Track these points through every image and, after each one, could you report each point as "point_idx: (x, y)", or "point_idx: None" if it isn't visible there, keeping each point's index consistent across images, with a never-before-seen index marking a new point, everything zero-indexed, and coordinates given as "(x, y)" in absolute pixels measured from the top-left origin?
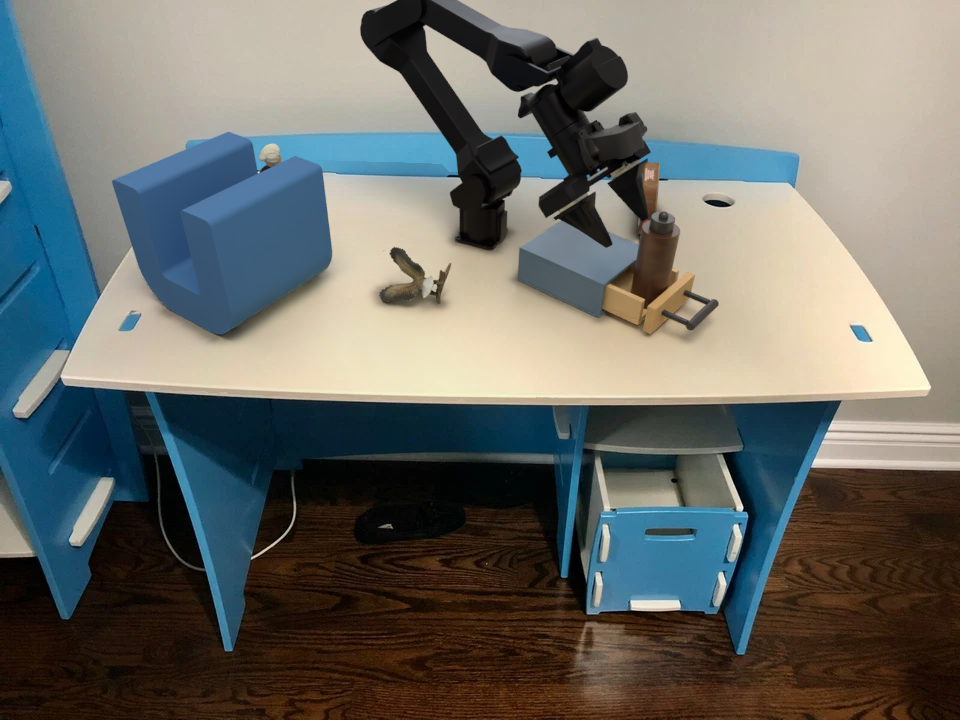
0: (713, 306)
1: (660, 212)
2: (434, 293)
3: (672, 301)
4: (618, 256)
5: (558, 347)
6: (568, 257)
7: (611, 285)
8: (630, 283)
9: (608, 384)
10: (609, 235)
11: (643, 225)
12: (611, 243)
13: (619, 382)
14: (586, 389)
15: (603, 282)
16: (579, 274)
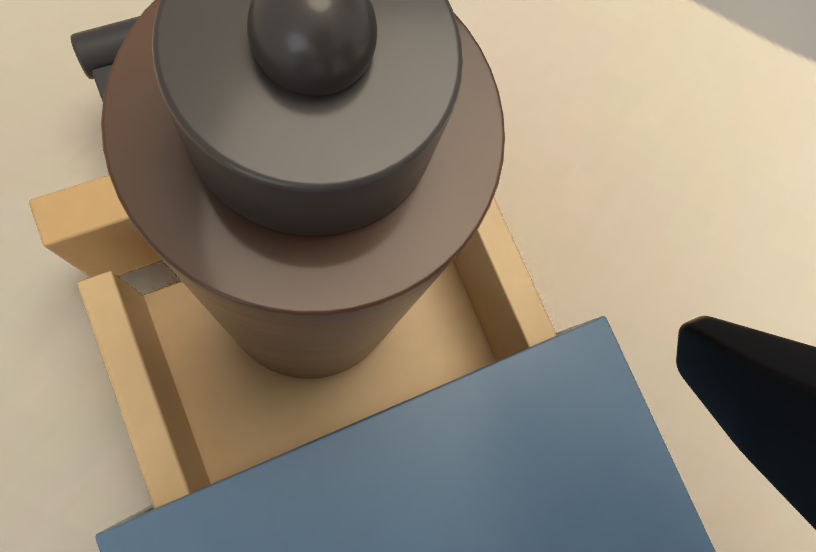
0: (124, 20)
1: (341, 50)
2: None
3: None
4: (359, 539)
5: (755, 262)
6: None
7: (532, 331)
8: (298, 444)
9: (686, 31)
10: (745, 353)
11: (444, 250)
12: (705, 316)
13: (649, 20)
14: (759, 47)
15: (597, 333)
16: (676, 468)
